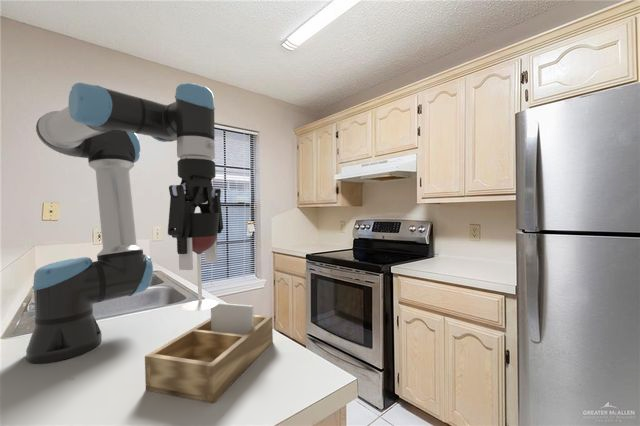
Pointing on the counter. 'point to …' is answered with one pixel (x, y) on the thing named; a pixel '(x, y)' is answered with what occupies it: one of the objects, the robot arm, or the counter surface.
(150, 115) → the robot arm
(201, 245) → the wineglass
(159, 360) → the wooden divided tray
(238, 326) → the white flat panel
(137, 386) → the counter surface
